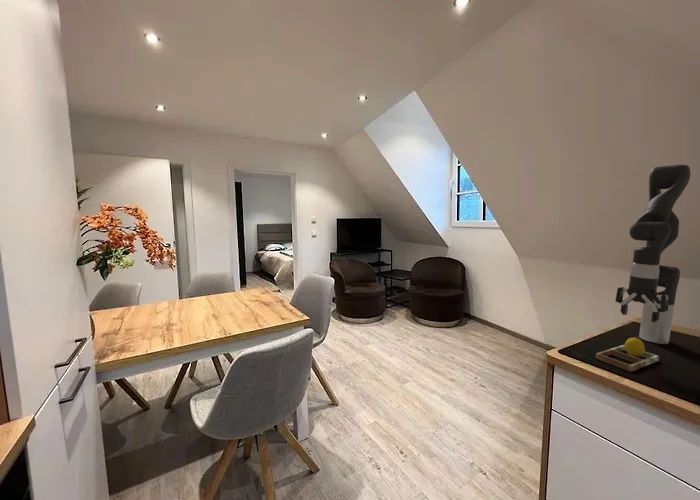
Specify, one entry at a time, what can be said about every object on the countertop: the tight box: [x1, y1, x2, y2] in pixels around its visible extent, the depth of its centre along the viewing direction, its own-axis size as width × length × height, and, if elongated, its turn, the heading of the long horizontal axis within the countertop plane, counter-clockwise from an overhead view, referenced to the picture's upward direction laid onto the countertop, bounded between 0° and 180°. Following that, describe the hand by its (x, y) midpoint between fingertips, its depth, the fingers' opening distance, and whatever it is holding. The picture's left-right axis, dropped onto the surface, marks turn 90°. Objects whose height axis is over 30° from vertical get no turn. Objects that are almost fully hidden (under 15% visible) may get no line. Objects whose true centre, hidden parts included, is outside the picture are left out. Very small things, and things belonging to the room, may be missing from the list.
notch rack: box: [595, 344, 660, 373], centre depth 112 cm, size 20×11×2 cm, turn 115°
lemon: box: [624, 337, 646, 358], centre depth 114 cm, size 6×6×8 cm
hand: (638, 317), depth 112 cm, fingers open, 8 cm apart
